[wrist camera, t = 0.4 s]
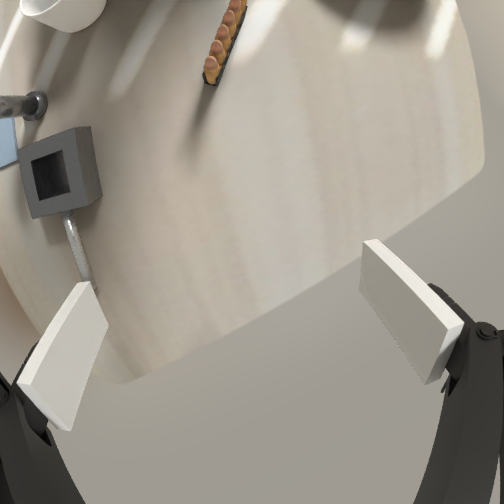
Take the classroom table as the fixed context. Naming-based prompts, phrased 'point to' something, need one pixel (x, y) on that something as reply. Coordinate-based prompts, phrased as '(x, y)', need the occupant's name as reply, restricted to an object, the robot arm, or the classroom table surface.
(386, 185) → the classroom table surface
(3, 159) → the mat
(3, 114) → the key
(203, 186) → the classroom table surface
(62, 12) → the mug
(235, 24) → the ammunition clip
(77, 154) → the block
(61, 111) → the classroom table surface
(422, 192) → the classroom table surface
